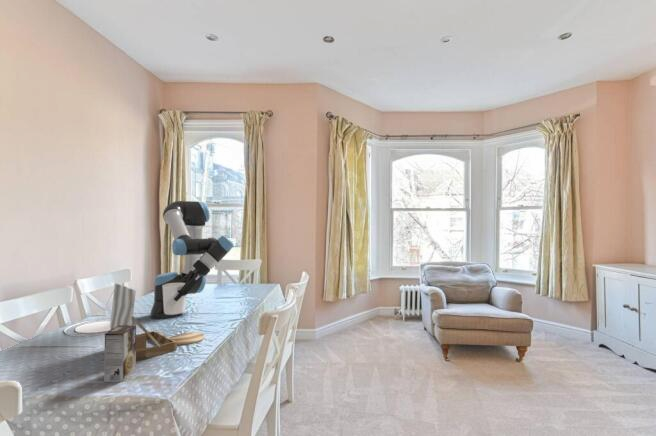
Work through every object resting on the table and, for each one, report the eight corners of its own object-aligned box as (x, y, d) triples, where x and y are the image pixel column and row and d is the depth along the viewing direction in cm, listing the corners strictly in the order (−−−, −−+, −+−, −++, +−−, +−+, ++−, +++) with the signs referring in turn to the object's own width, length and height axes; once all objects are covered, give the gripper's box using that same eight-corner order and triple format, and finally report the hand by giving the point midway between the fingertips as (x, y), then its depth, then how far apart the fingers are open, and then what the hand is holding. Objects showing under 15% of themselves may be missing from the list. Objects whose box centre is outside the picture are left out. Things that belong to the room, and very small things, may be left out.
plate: (88, 340, 154) (88, 338, 154) (50, 331, 165) (50, 329, 165) (144, 323, 179) (144, 322, 179) (108, 317, 191) (108, 315, 191)
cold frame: (109, 349, 143) (110, 283, 143) (155, 338, 157) (156, 278, 157) (129, 363, 129) (130, 291, 129) (177, 350, 142) (178, 284, 143)
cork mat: (162, 339, 155) (162, 338, 155) (194, 331, 166) (194, 330, 166) (178, 347, 145) (178, 346, 145) (210, 339, 157) (210, 337, 157)
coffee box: (117, 370, 123) (118, 325, 123) (136, 370, 123) (137, 324, 124) (102, 382, 114) (103, 333, 114) (123, 382, 114) (124, 332, 114)
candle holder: (191, 310, 155) (191, 283, 155) (174, 316, 145) (174, 287, 145) (174, 308, 158) (174, 281, 158) (156, 313, 149) (156, 286, 149)
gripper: (217, 273, 151) (177, 314, 142) (205, 267, 169) (169, 303, 161) (204, 261, 148) (163, 303, 139) (193, 256, 166) (157, 293, 158)
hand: (166, 303), depth 150 cm, fingers closed on candle holder, 9 cm apart
